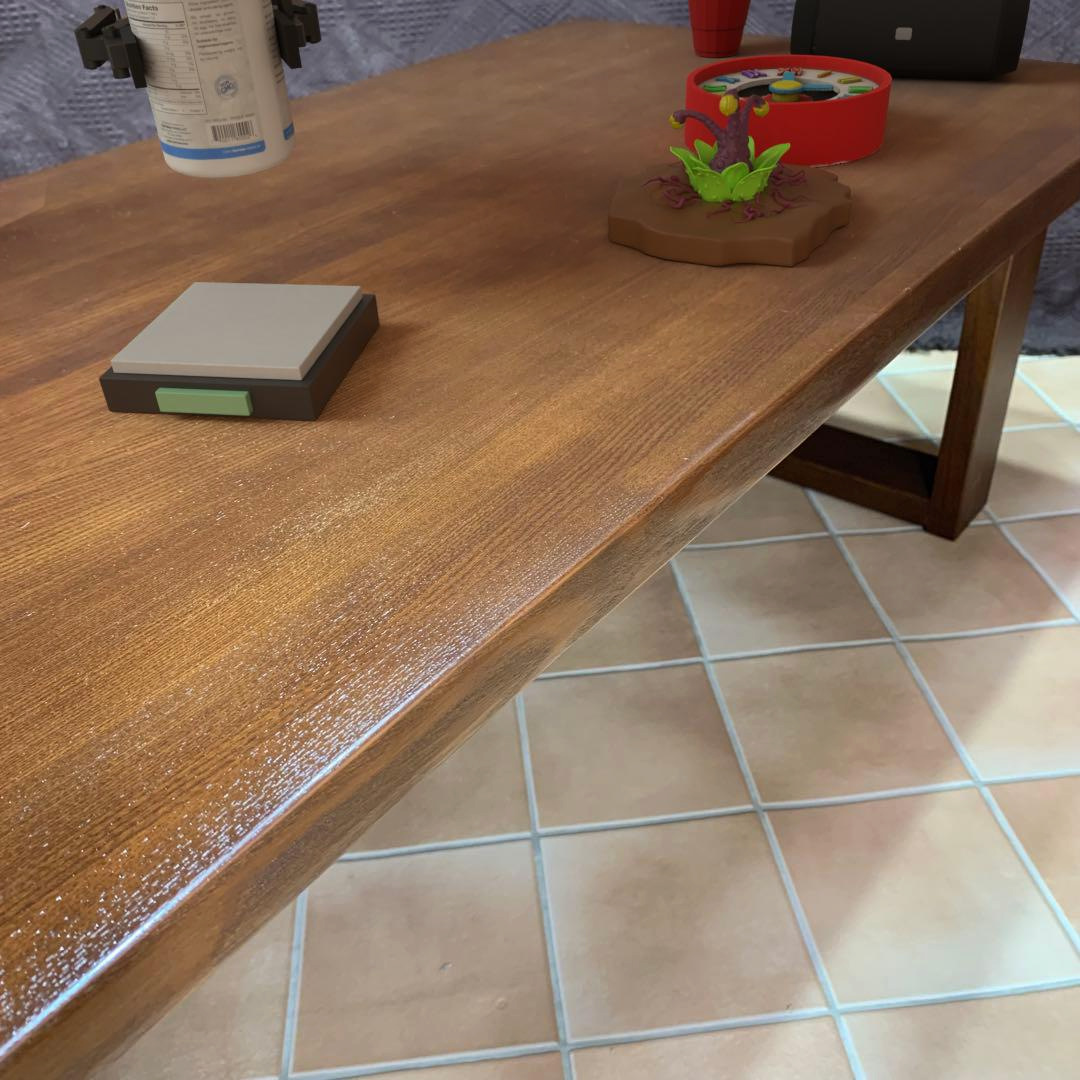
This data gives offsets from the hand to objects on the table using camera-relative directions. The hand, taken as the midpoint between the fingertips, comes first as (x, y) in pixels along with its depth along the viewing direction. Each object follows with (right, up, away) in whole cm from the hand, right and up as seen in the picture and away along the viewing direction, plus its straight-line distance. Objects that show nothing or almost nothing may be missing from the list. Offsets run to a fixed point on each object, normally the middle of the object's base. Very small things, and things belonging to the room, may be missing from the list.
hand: (215, 56), depth 71 cm
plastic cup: (+45, +33, +72) cm, 91 cm away
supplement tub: (-1, -4, +8) cm, 9 cm away
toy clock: (+46, +9, +40) cm, 62 cm away
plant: (+37, -5, +21) cm, 43 cm away
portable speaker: (+65, +24, +58) cm, 90 cm away
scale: (+2, -20, +3) cm, 20 cm away
